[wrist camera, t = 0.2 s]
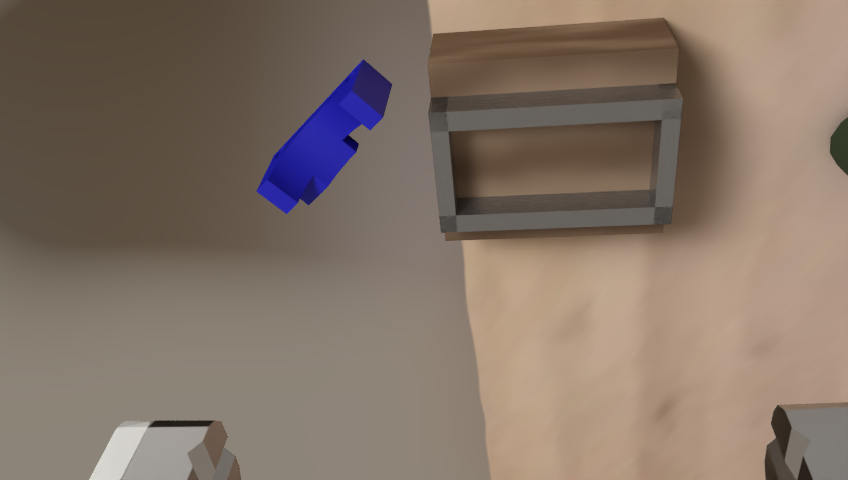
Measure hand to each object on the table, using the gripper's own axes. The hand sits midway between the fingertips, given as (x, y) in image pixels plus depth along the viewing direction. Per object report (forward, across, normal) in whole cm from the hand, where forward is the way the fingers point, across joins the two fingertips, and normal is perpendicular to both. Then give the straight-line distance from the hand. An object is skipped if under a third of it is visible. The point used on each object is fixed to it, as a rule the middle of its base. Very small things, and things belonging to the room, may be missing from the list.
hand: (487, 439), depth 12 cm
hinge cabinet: (+49, -3, +19) cm, 53 cm away
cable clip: (+50, +14, +18) cm, 55 cm away
